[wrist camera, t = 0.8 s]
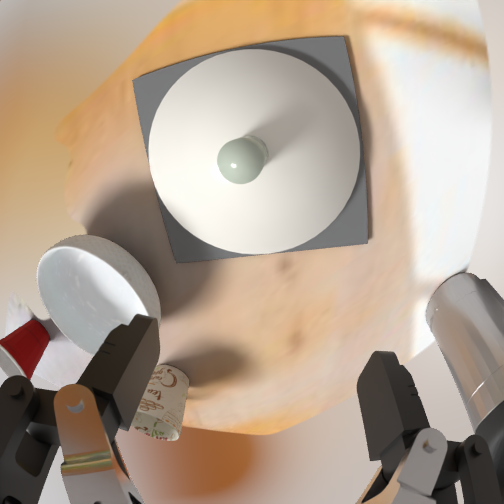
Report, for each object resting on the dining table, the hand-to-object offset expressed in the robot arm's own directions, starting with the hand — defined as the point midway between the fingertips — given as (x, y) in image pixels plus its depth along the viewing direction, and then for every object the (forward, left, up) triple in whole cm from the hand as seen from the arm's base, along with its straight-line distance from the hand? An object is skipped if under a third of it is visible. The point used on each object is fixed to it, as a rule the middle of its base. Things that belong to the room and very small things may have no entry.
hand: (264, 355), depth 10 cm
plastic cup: (+49, +17, -19) cm, 55 cm away
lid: (+2, -5, -18) cm, 19 cm away
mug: (+21, +27, -19) cm, 39 cm away
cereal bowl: (+22, +7, -19) cm, 30 cm away
